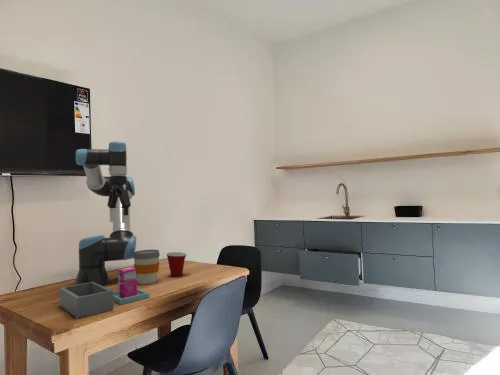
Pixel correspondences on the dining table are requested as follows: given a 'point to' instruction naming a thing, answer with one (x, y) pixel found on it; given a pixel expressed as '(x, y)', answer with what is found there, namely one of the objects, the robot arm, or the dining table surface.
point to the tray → (139, 296)
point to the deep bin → (86, 299)
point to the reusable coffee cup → (146, 265)
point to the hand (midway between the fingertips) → (118, 222)
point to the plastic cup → (176, 263)
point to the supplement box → (127, 282)
